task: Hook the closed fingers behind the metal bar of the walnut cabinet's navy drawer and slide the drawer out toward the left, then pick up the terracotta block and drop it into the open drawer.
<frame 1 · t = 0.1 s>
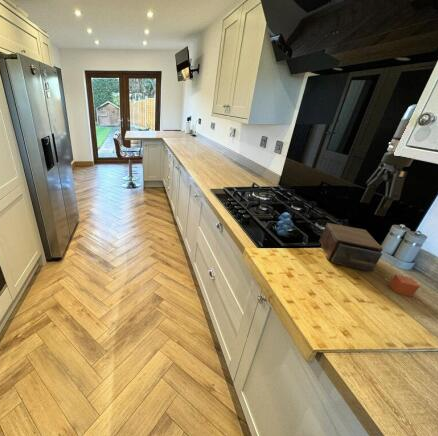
hand: (371, 208, 92), 20 cm above the worktop, tool pointing down, fingers open, 13 cm apart
grapes: (282, 236, 110), on the worktop
drawer: (351, 251, 91), point 5 cm above the worktop, slide at 1.0 cm
block: (399, 290, 79), on the worktop
cabinet: (342, 254, 97), on the worktop
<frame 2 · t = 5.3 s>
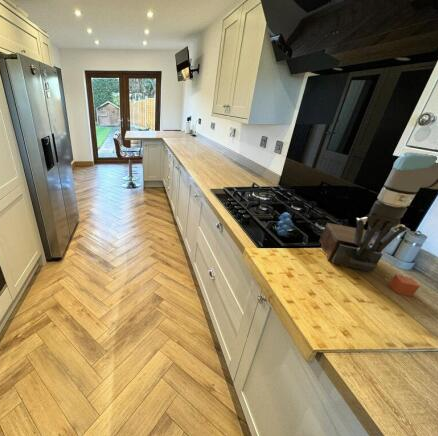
hand: (358, 263, 85), 4 cm above the worktop, tool pointing down, fingers closed
drawer: (352, 252, 91), point 5 cm above the worktop, slide at 1.3 cm, touching gripper
everything else where it was.
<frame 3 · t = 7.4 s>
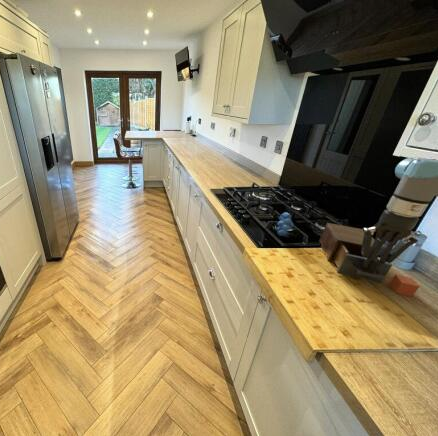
hand: (364, 275, 79), 4 cm above the worktop, tool pointing down, fingers closed
drawer: (358, 261, 85), point 5 cm above the worktop, slide at 8.0 cm
everything else where it was.
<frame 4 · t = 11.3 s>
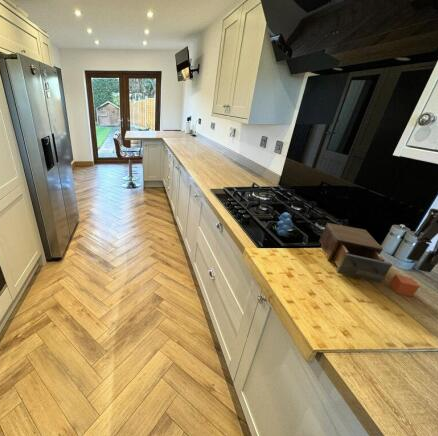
hand: (417, 264, 75), 11 cm above the worktop, tool pointing down, fingers open, 5 cm apart
nothing on the worktop moved.
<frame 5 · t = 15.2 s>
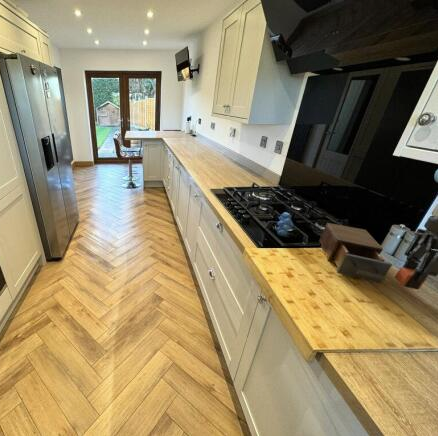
hand: (406, 282, 78), 4 cm above the worktop, tool pointing down, fingers closed on block, 4 cm apart
block: (406, 283, 78), point 3 cm above the worktop, touching gripper
everything else where it was.
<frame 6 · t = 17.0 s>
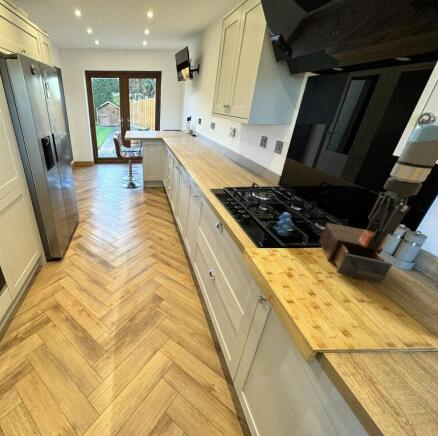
hand: (368, 244, 81), 13 cm above the worktop, tool pointing down, fingers closed on block, 4 cm apart
block: (368, 245, 81), point 12 cm above the worktop, touching gripper
everything else where it was.
when the fingers open (7 cm above the worktop, at t = 18.8 s): block drops 5 cm, resting on drawer.
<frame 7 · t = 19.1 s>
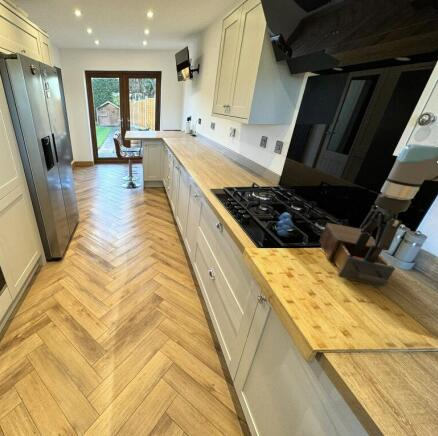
hand: (362, 256, 83), 8 cm above the worktop, tool pointing down, fingers open, 8 cm apart
drawer: (360, 264, 83), point 5 cm above the worktop, slide at 10.0 cm, touching block, gripper
block: (357, 271, 85), point 2 cm above the worktop, touching drawer
everything else where it was.
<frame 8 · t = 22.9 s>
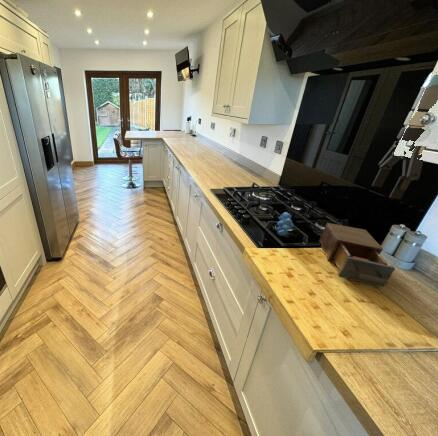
hand: (384, 192, 82), 29 cm above the worktop, tool pointing down, fingers open, 13 cm apart
drawer: (360, 264, 83), point 5 cm above the worktop, slide at 10.0 cm, touching block
everything else where it was.
at the end: drawer slide at 10.0 cm; block inside the target area in the drawer (2.0 cm from its centre), point 2.1 cm above the cabinet's base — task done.
